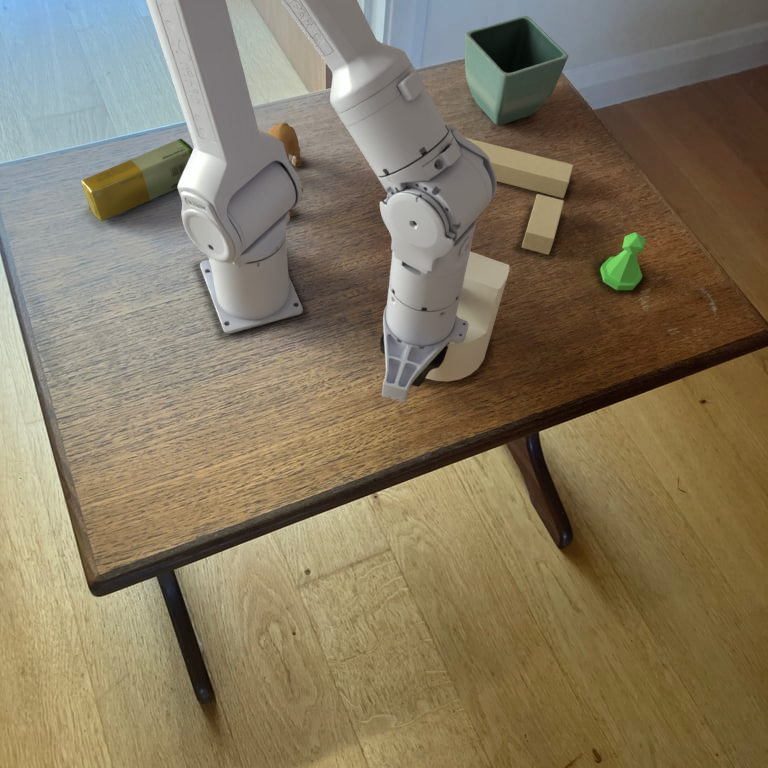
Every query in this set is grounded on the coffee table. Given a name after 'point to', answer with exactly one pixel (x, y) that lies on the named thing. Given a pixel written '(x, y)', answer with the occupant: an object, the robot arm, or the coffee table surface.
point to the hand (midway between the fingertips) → (410, 378)
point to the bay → (534, 177)
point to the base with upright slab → (474, 317)
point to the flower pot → (512, 68)
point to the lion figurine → (288, 143)
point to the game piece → (624, 264)
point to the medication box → (136, 180)
